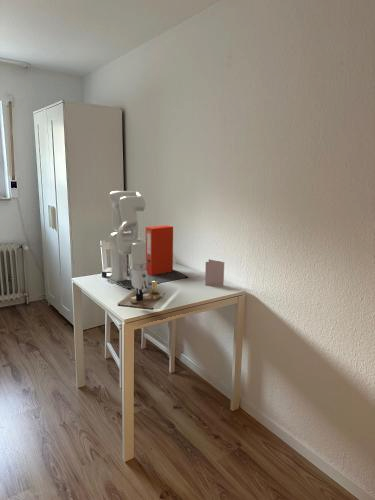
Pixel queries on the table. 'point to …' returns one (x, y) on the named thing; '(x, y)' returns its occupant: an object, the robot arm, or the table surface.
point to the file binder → (159, 249)
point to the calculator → (108, 272)
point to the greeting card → (214, 273)
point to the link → (147, 297)
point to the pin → (154, 287)
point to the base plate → (146, 303)
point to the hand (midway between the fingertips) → (139, 300)
